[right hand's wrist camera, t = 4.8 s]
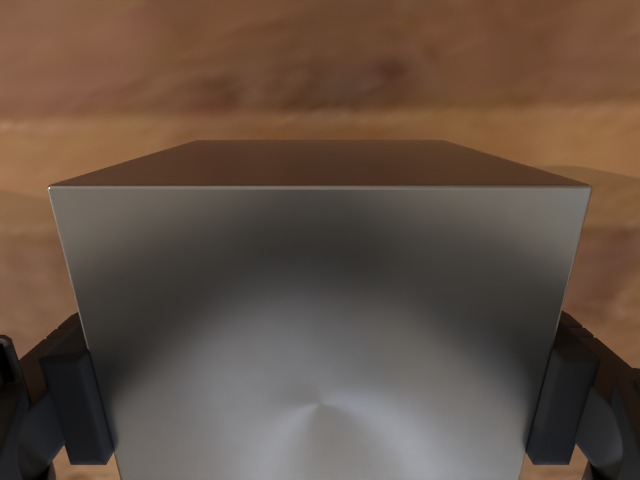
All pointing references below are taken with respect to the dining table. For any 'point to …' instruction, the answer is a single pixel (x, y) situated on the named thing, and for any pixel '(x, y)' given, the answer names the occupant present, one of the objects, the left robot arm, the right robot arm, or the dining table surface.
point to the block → (319, 306)
